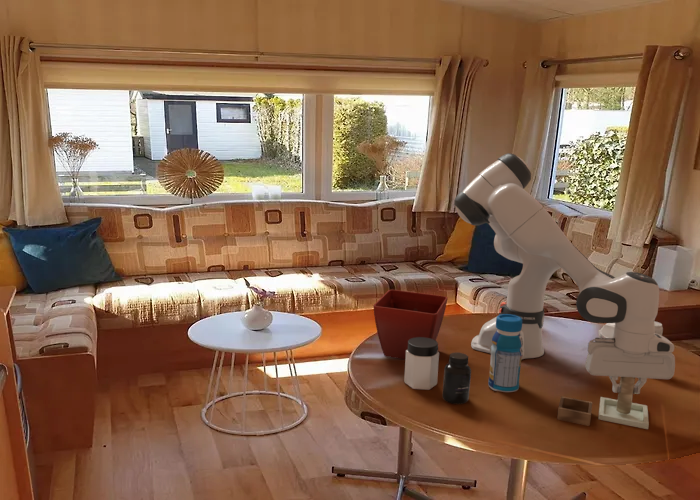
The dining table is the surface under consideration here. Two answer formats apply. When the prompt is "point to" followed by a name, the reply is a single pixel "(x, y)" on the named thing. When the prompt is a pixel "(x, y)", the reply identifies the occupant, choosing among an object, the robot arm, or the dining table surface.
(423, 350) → the jar
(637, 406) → the tray
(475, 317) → the dining table surface
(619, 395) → the dowel
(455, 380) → the supplement bottle
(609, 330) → the white low-poly figurine
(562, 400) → the open square box
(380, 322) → the plant pot
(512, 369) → the beverage bottle
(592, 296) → the robot arm
